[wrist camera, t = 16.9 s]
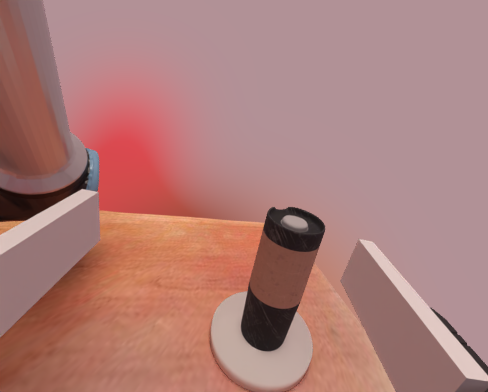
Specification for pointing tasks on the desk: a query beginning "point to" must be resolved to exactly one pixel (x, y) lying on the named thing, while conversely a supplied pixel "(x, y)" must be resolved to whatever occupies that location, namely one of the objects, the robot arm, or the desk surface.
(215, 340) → the white round disc
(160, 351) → the desk surface
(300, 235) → the travel mug
